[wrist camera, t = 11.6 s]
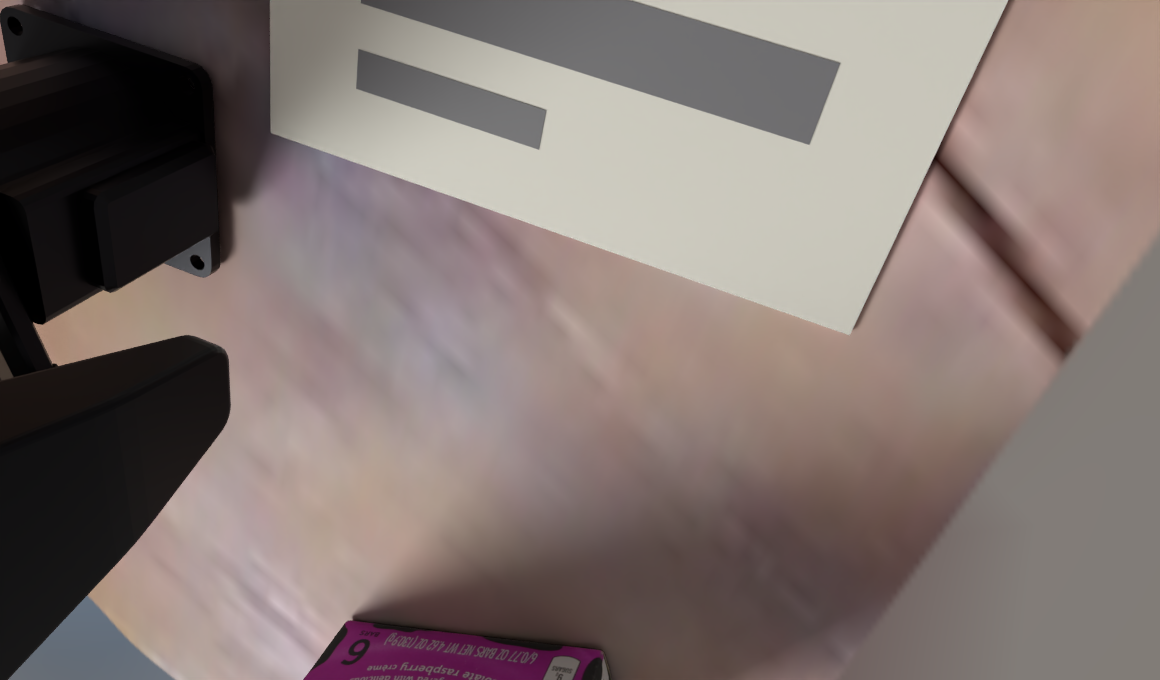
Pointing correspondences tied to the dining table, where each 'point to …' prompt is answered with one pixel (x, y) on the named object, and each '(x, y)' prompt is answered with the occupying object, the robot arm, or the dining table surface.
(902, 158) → the paper sheet
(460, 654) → the candy bar box
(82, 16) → the dining table surface
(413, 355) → the dining table surface
